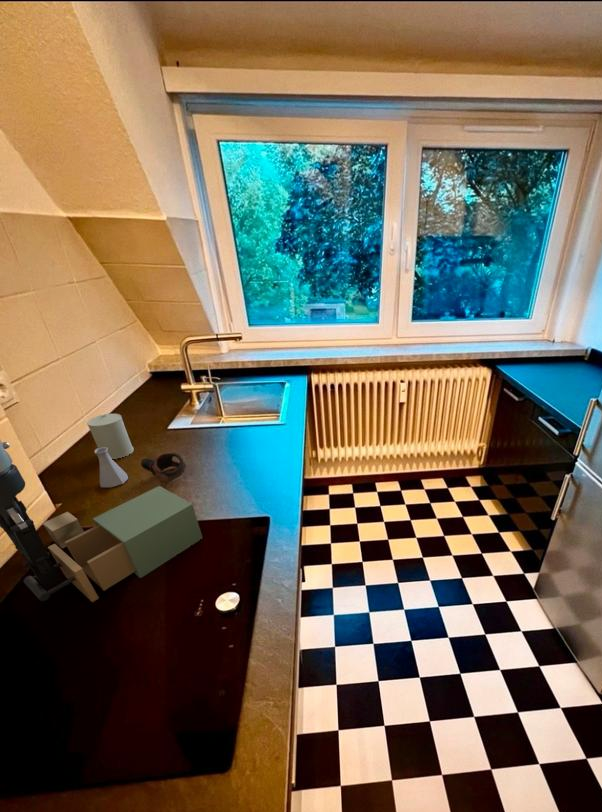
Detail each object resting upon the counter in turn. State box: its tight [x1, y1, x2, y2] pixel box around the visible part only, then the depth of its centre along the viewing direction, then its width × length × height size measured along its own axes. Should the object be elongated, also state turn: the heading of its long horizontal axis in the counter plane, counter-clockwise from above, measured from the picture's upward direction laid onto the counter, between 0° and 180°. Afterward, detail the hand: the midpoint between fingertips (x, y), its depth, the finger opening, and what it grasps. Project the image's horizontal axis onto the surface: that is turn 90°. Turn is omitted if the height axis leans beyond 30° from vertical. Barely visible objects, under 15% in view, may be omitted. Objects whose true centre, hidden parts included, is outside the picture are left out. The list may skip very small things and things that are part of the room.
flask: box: [94, 447, 129, 488], centre depth 105 cm, size 7×7×10 cm
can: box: [86, 413, 135, 460], centre depth 119 cm, size 9×9×12 cm
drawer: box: [23, 525, 136, 603], centre depth 74 cm, size 19×11×8 cm, turn 145°
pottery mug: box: [140, 451, 188, 485], centre depth 108 cm, size 12×10×8 cm
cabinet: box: [92, 485, 204, 579], centre depth 83 cm, size 15×13×10 cm
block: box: [42, 511, 85, 550], centre depth 86 cm, size 5×5×5 cm
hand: (52, 582), depth 70 cm, fingers closed
